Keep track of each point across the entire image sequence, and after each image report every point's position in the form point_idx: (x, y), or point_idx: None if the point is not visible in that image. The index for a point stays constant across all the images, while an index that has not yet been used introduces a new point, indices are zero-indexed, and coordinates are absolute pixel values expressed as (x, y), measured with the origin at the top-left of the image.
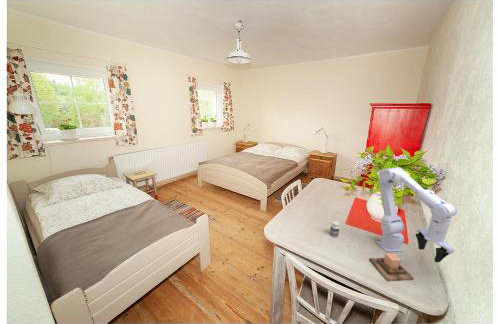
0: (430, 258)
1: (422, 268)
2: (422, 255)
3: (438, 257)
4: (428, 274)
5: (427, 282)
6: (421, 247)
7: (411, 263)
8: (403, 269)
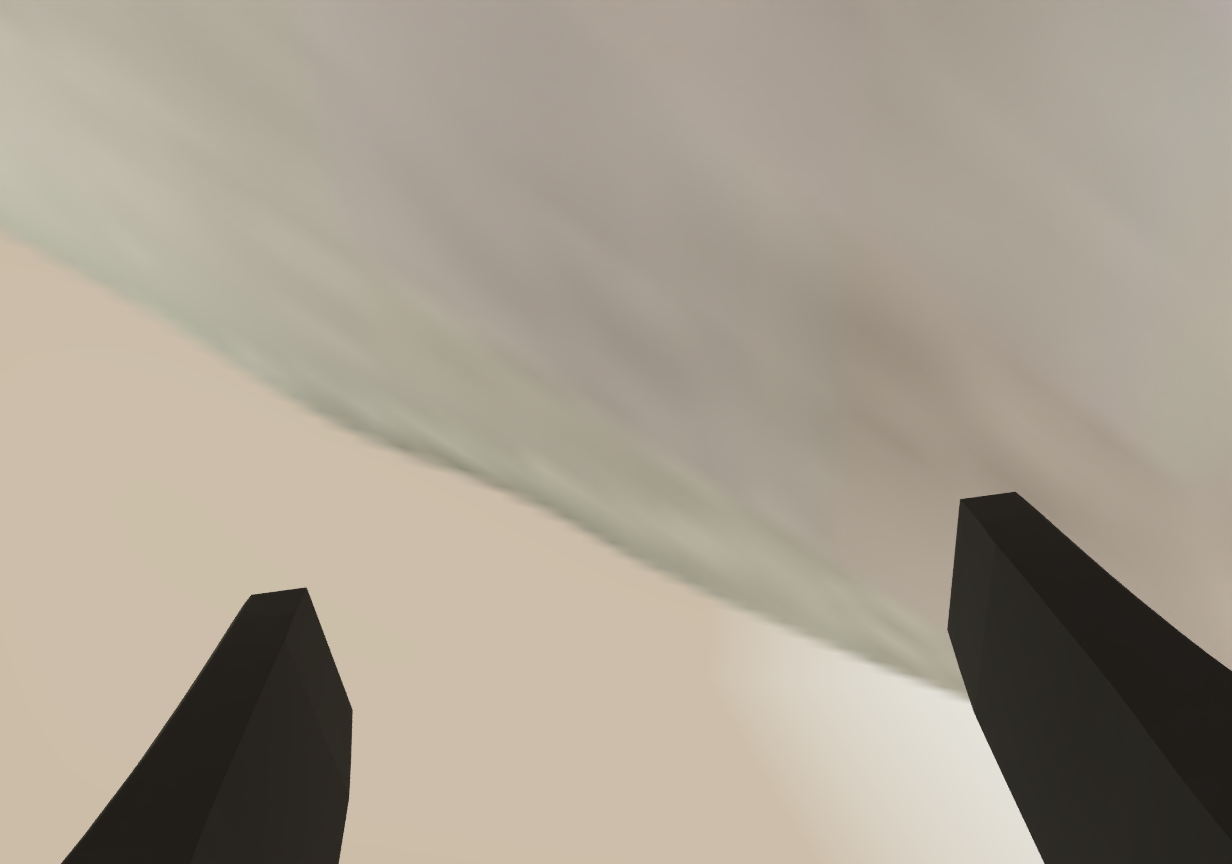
0: None
1: (695, 285)
2: None
3: (90, 828)
4: (510, 288)
5: (219, 70)
6: (992, 616)
7: (868, 127)
8: None
